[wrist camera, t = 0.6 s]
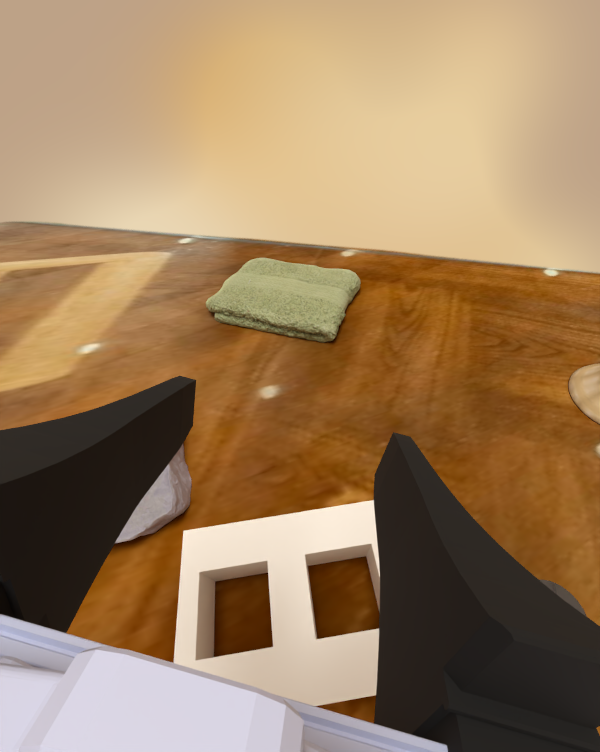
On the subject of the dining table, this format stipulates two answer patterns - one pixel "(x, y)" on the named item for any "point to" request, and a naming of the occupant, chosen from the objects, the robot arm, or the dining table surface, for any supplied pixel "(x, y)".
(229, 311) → the washcloth
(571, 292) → the dining table surface
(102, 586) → the dining table surface
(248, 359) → the dining table surface
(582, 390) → the hand bell
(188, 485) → the stone block
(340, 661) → the hole block
